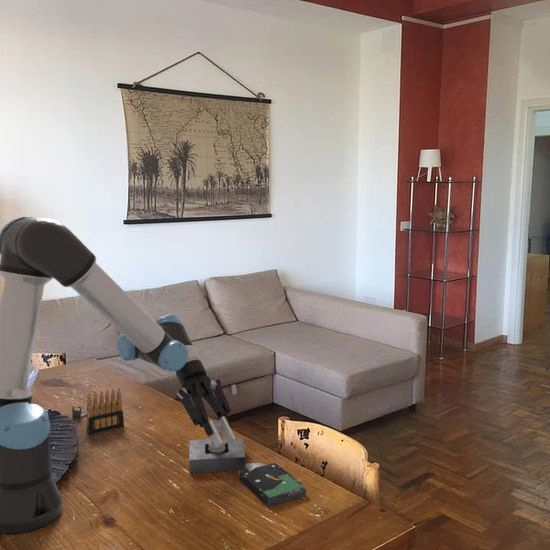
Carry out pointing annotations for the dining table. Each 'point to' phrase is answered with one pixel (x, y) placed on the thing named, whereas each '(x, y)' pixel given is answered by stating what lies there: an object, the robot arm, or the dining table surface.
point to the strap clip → (77, 414)
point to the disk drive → (272, 484)
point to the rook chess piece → (218, 427)
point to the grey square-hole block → (216, 457)
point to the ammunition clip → (104, 412)
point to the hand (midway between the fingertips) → (225, 443)
